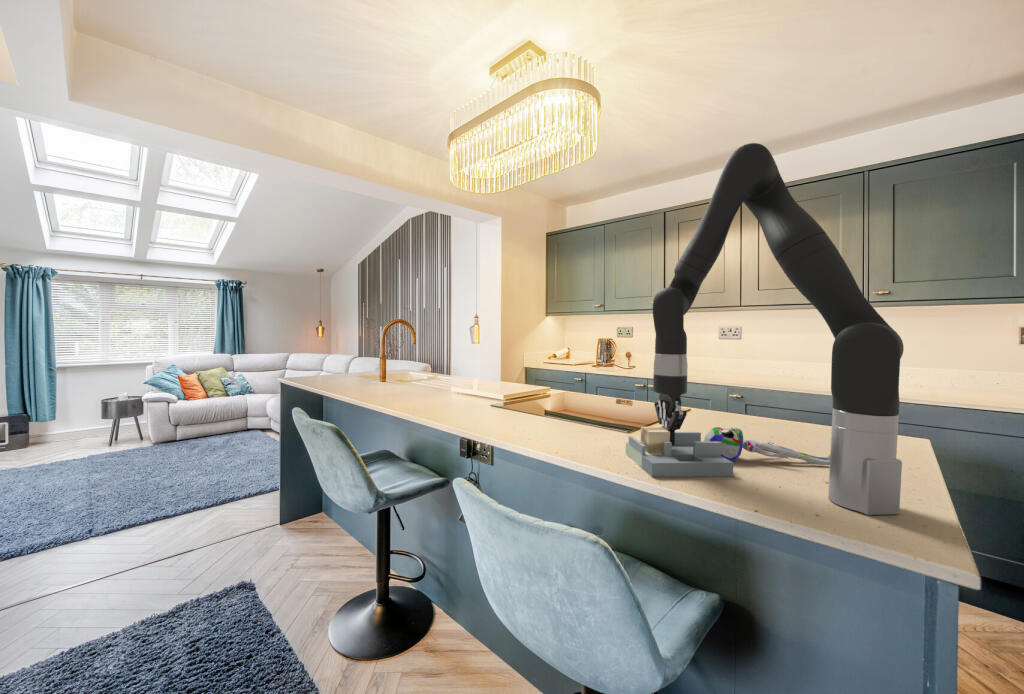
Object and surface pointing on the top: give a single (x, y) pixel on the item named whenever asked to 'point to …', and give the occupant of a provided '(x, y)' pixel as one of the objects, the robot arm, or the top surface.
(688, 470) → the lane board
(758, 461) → the top surface
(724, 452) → the toy
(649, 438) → the block
